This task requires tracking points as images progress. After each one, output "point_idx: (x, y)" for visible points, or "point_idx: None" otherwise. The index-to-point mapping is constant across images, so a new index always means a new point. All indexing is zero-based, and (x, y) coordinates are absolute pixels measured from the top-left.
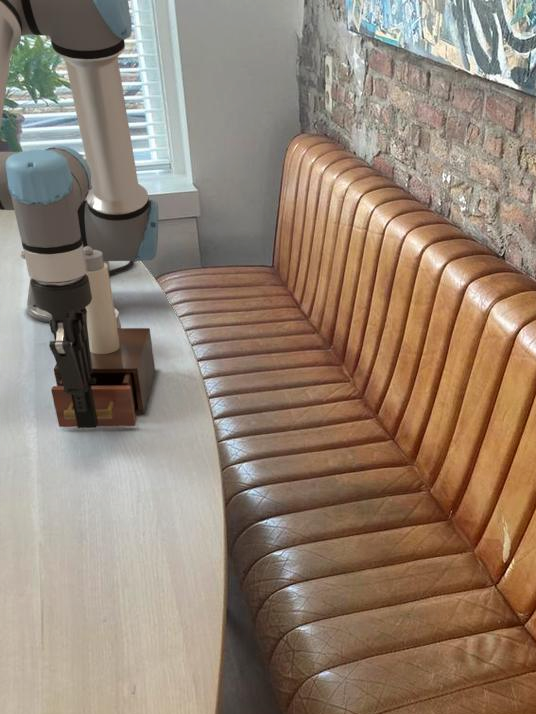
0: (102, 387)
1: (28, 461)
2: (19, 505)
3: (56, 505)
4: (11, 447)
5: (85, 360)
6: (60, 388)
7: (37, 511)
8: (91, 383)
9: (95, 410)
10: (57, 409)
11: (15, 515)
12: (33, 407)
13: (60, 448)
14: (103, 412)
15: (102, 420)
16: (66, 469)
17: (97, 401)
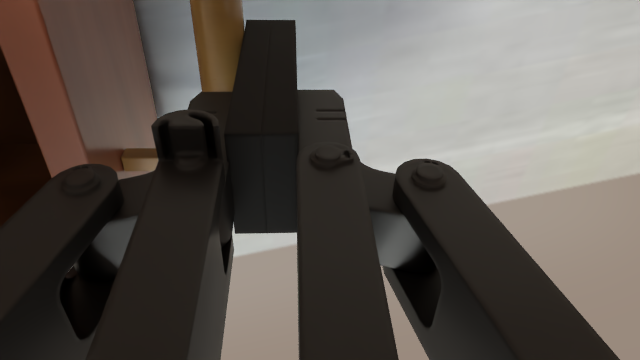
0: (29, 53)
1: None
2: (571, 165)
3: (615, 70)
4: (269, 243)
5: (184, 304)
6: None
7: (622, 116)
8: (209, 136)
9: (244, 48)
10: None
11: (616, 164)
12: None
13: None
14: (231, 2)
15: (124, 8)
16: (409, 81)
17: (94, 56)
